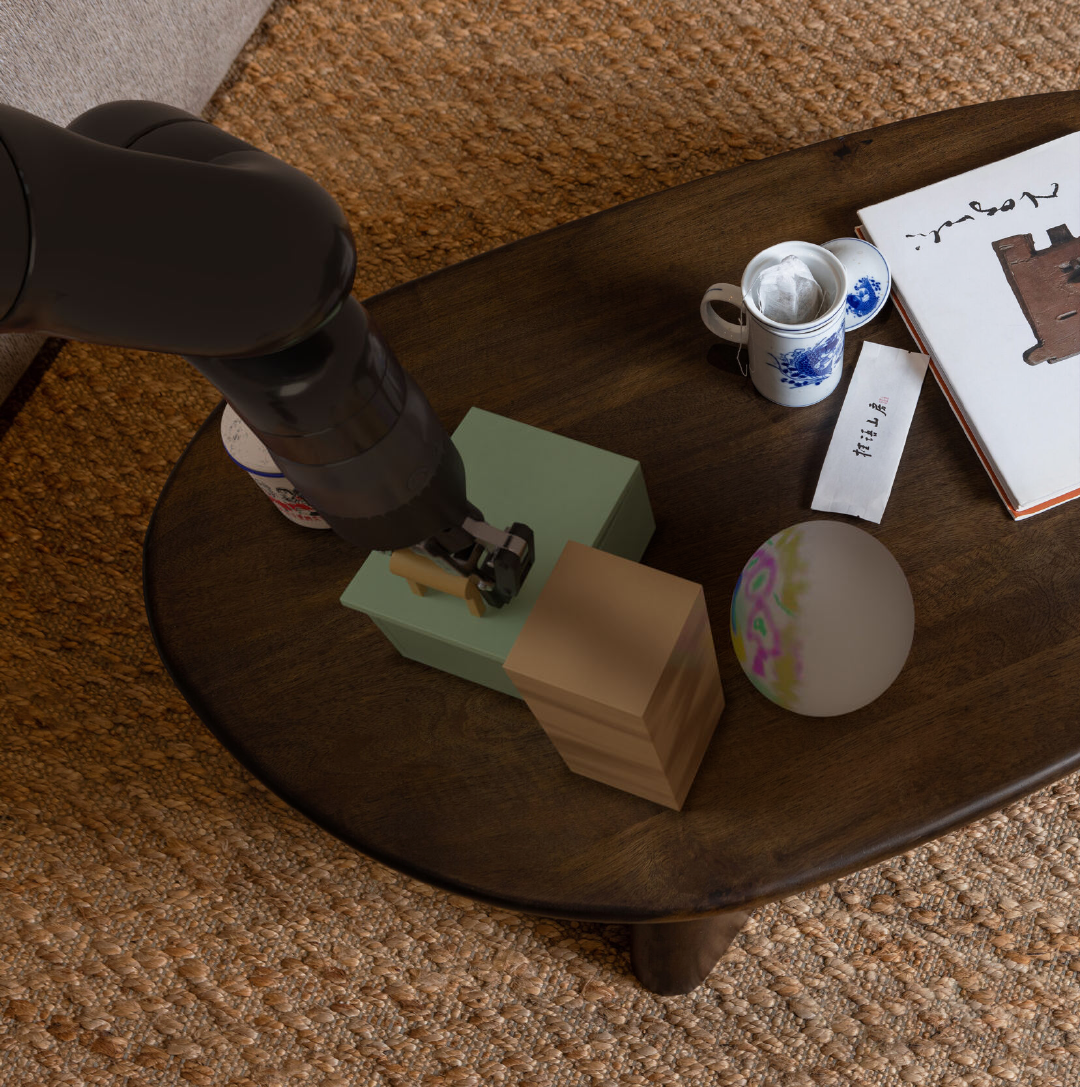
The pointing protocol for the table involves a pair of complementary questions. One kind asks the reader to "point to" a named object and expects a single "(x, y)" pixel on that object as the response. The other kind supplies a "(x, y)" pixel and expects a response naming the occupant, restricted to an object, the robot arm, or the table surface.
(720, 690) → the stand
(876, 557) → the decorative egg
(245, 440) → the teacup with lid
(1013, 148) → the table surface
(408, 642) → the chest
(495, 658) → the lid
